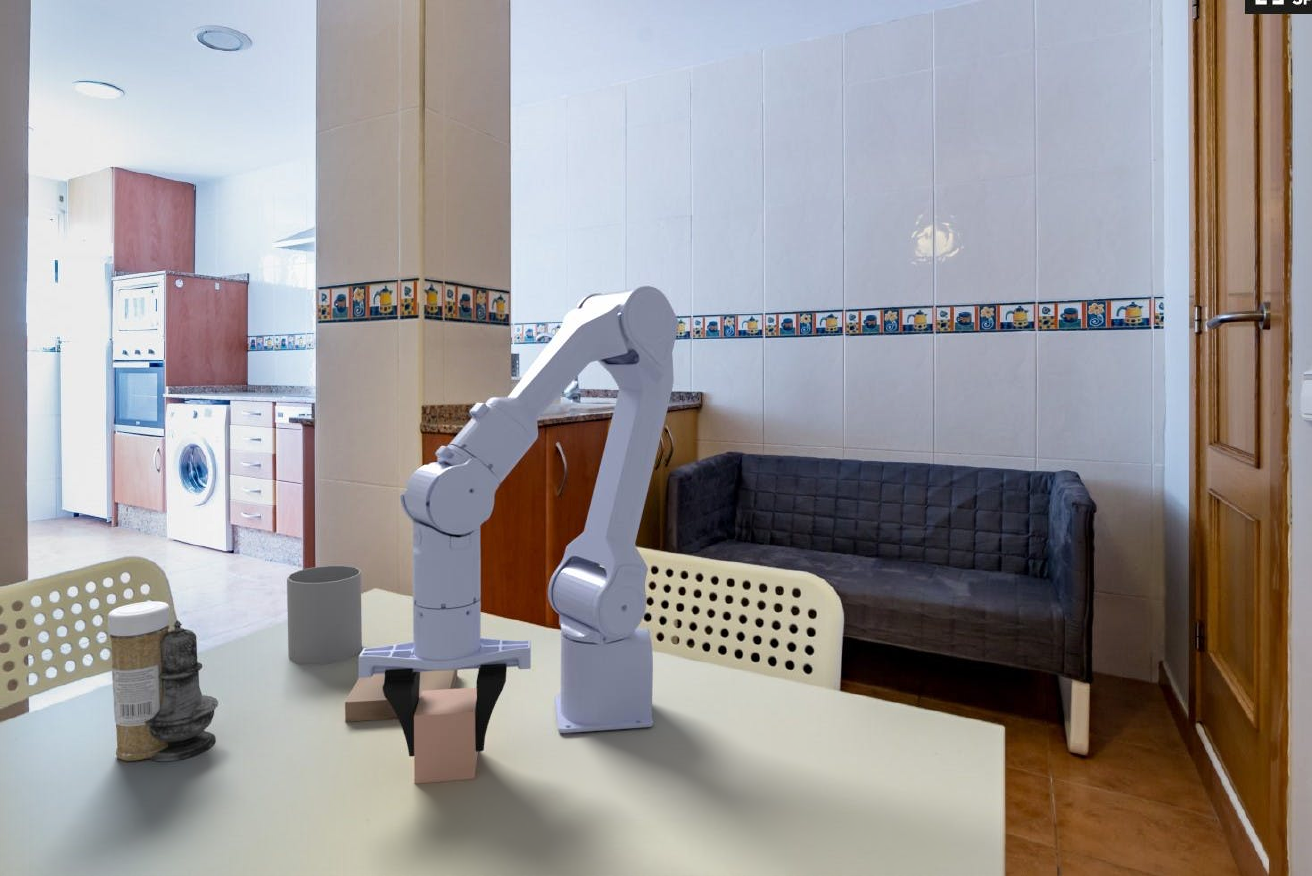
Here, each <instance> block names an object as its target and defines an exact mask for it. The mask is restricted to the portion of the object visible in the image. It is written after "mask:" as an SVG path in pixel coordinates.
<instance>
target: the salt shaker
mask: <svg viewBox="0 0 1312 876" xmlns="http://www.w3.org/2000/svg"><path fill="white" fill-rule="evenodd" d="M182 625H183V623H181V621H179V620H176V621H175V622H174V624H172V626H173V627H174V628H173V629H172V630H171V631H168V633H166V634H165V635H164V637H163V638H162V640H161V646H160V647H161V663H162V672H161V673H160V675H159V676H158V677H159V678H161V681H162V700H161V705H160V709H159V711H158V712H157V714H156V715H155V716H154V717H153V718H152V719H150V720H147V721H145V724H147V725H149V731H150V733H151V734H152V736H153V737H154V738H155V739H157V740H159V741H161V742H168V745H169V746H168V747H167V748H165V749H163V750H161V751H158V752H157V753H155V756H152V757H150V758H149V759H150V760H151V761H156V762H172V761H173V762H175V761H179V760H185V759H187V758H190V757H194V756H197V755H199V754H201V753H203V752H205V751H206V750H208V749H210V748H211V747H212V746H213V745H214V744H215V742H216V735H215V734H214V733H212V732H209V731H206V729H207V728H208V727H209V726H210V724H211V723H212V721H213V719H214V716H215V710H216V708H217V707H218V705H219V701H218V699H217V698H216V697H213V696H210V695H205V694H203V693H202V691H201V688H200V676H199V675H200V672H199V671H201V669H202V668H203V664H202V662H199V661H198V645H197V642H198V641H197V634H196V633H195V632H193V630H189V629H186V628H183V627H182Z"/></svg>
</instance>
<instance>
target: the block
mask: <svg viewBox="0 0 1312 876" xmlns="http://www.w3.org/2000/svg"><path fill="white" fill-rule="evenodd" d="M476 729H477V689H476V687H465V688H464V687H463V688H454V689H443V690H426V691H422V693H421V696H420V699H419V702H418V705H417V708H416V711H415V714H414V756H413V759H414V760H413V762H414V763H413V764H414V768H413V769H414V770H413V771H414V775H413V776H414V778H413V779H414V783H413V784H416V785H417V784H425V783H426V784H427V783H428V784H429V783H437V782H441V783H442V782H451V781H452V782H453V781H462V780H463V781H464V780H475V779H476V778H475V777H476V772H477V771H476V770H477V764H478V763H477V762H478V755H479V751H478V752H476Z"/></svg>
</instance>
